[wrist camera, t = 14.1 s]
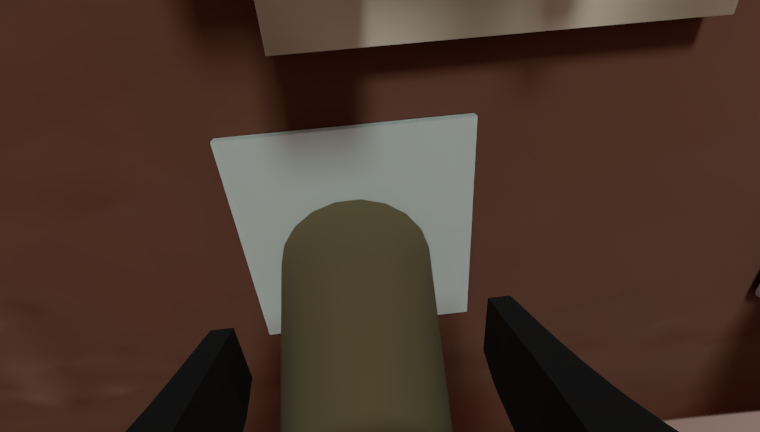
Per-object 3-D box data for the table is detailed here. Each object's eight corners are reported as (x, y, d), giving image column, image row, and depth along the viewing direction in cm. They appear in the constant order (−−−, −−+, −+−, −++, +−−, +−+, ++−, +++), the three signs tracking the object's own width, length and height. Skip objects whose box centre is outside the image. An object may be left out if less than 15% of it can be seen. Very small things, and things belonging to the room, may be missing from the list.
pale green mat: (473, 113, 13) (477, 115, 13) (464, 305, 18) (466, 311, 17) (213, 138, 13) (209, 142, 12) (271, 328, 17) (269, 334, 17)
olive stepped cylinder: (338, 338, 17) (335, 747, 8) (248, 250, 15) (75, 721, 5) (454, 278, 16) (615, 673, 7) (381, 169, 13) (480, 586, 4)
